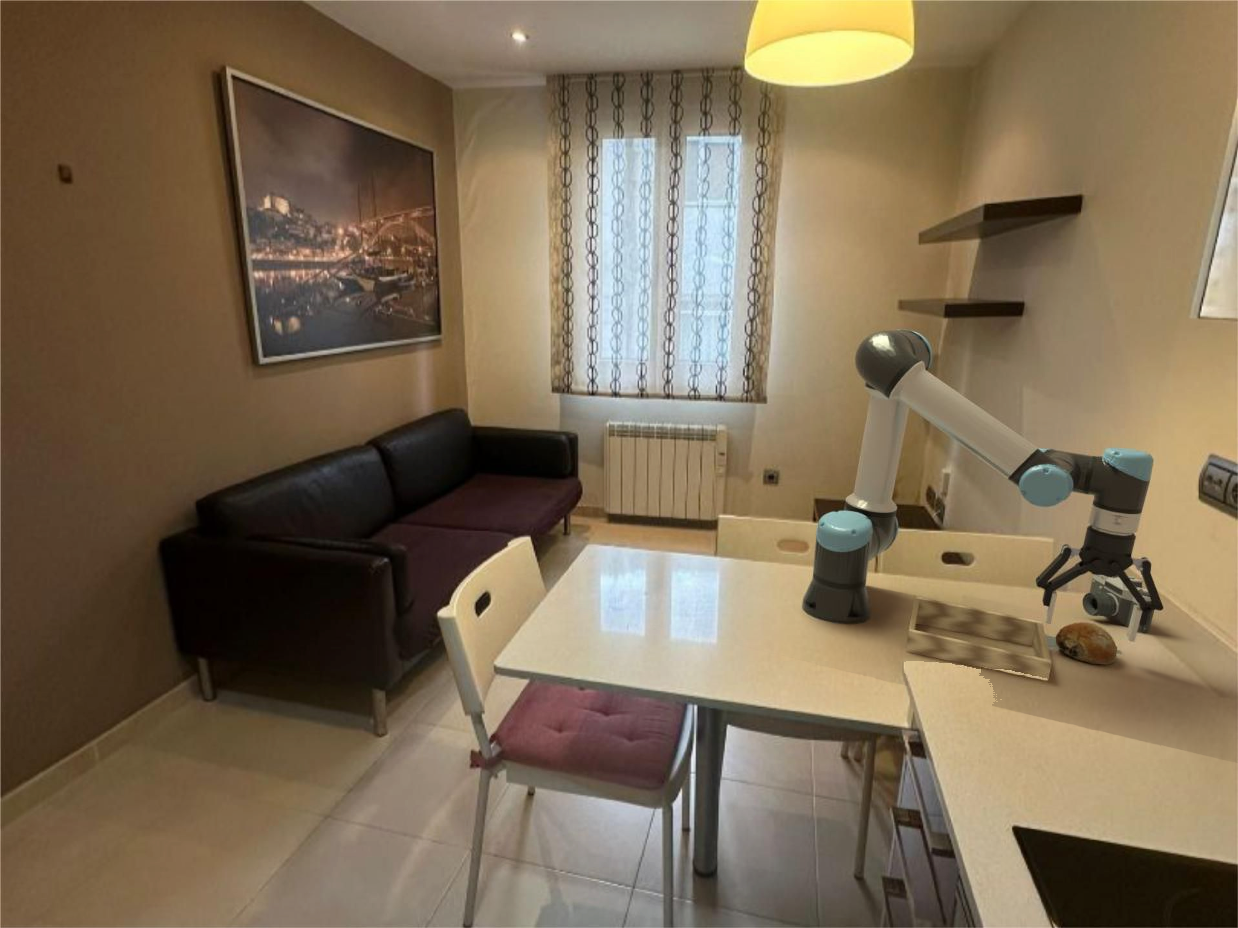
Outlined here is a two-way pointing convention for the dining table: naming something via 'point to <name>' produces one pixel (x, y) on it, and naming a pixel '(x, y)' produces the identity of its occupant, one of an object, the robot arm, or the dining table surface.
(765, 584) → the dining table surface
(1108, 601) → the camera
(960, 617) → the crate
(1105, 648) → the bread roll
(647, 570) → the dining table surface
